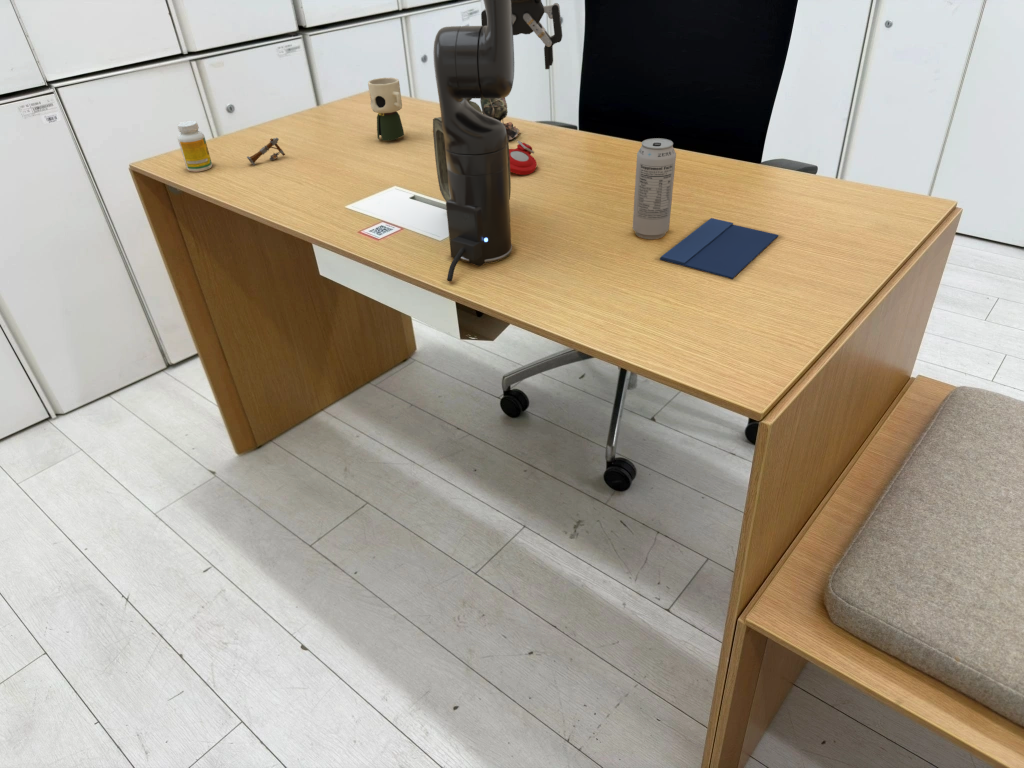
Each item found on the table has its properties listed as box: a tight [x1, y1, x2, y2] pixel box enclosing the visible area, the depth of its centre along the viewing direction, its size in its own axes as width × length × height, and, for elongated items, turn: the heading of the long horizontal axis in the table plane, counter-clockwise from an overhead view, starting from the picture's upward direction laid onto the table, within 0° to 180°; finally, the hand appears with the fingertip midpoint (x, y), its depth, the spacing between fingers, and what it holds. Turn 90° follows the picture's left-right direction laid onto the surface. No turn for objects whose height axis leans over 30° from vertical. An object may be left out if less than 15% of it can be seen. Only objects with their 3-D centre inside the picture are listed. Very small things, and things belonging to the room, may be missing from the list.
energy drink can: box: [631, 137, 677, 240], centre depth 115 cm, size 6×6×15 cm
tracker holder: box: [509, 140, 538, 176], centre depth 148 cm, size 12×4×10 cm
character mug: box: [367, 77, 405, 142], centre depth 164 cm, size 11×7×13 cm, turn 47°
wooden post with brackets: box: [246, 137, 286, 166], centre depth 158 cm, size 2×8×4 cm, turn 125°
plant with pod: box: [479, 97, 521, 142], centre depth 160 cm, size 8×11×20 cm
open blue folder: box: [659, 217, 779, 280], centre depth 113 cm, size 18×12×1 cm, turn 142°
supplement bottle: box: [177, 120, 213, 173], centre depth 153 cm, size 5×5×10 cm
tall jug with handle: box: [432, 98, 512, 202], centre depth 119 cm, size 14×9×25 cm, turn 21°
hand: (524, 69), depth 131 cm, fingers open, 8 cm apart
